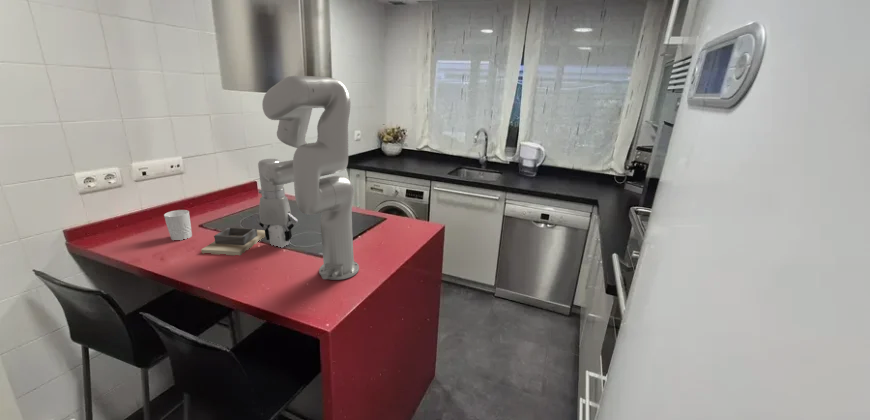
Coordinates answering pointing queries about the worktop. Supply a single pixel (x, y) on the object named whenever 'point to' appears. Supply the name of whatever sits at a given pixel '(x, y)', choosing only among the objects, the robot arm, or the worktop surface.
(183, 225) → the white cup
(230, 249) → the board
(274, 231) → the white wedge bracket
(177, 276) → the worktop surface
